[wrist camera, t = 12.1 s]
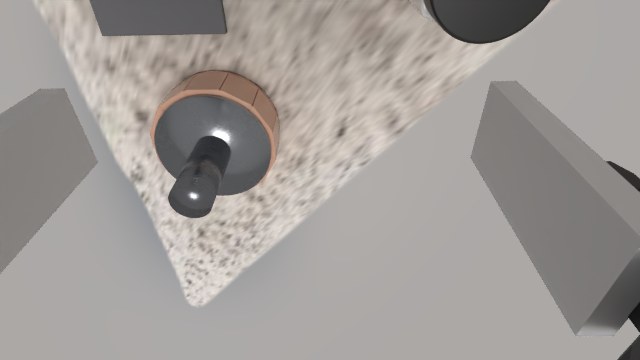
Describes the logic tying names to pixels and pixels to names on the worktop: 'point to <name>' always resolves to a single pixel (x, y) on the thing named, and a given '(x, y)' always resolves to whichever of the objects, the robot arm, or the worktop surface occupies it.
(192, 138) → the lid
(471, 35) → the jar
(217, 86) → the bowl
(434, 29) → the worktop surface
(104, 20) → the mat
